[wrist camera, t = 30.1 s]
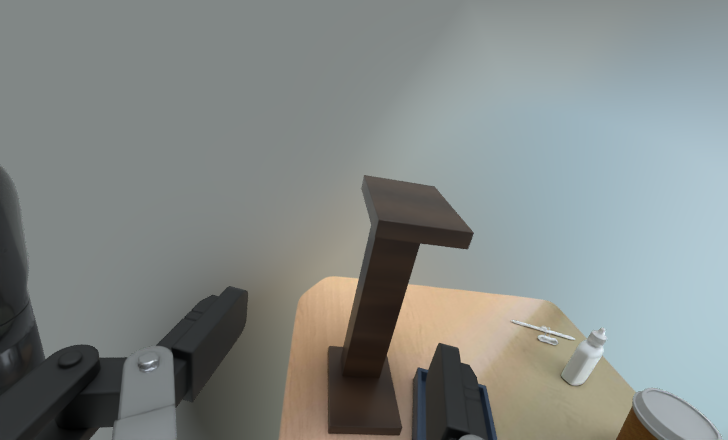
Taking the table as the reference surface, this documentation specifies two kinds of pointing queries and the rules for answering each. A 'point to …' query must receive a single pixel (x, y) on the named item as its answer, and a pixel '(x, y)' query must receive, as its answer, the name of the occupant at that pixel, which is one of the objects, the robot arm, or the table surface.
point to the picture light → (542, 337)
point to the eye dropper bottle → (585, 358)
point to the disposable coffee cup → (665, 419)
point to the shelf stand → (384, 301)
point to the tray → (420, 408)
